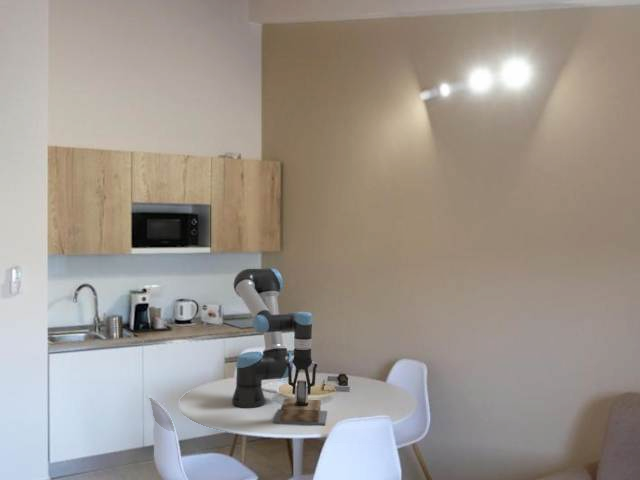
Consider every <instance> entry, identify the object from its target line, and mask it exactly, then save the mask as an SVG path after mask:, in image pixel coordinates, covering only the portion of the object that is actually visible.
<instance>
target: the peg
mask: <svg viewBox="0 0 640 480" xmlns="http://www.w3.org/2000/svg"><path fill="white" fill-rule="evenodd" d="M296 383H297V406H306V386H307V380H303V379H300V380H299V379H297V382H296Z"/></svg>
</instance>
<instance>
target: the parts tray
mask: <svg viewBox="0 0 640 480" xmlns="http://www.w3.org/2000/svg"><path fill="white" fill-rule="evenodd" d="M338 376H339V375H325V379H324V384H327V385H328V382H338V380H337V377H338ZM346 376H347V378H348V380H347V382H348V386H340V385H331V386H334V387H335V389H336V391H335V392H351V391H350V390H351V389H350V387H351V376H349V375H346ZM324 384H323V385H324Z"/></svg>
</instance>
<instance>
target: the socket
mask: <svg viewBox="0 0 640 480" xmlns="http://www.w3.org/2000/svg"><path fill="white" fill-rule="evenodd" d="M321 402H322V400H321V399H308V402H307V403H306V406H297V402H295V398H284V400H283V401H282V404H281V407H280V408H278V409H277V410H276V413H275V415H274V417H273V420H272V423H273V424H285V425H287V424H288V425H310V426H326V423H327V418H328V417H327V416H328V410H321V405H322V403H321Z"/></svg>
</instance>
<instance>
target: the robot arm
mask: <svg viewBox="0 0 640 480" xmlns="http://www.w3.org/2000/svg"><path fill="white" fill-rule="evenodd" d="M282 289H283V277H282V275H281V273H280V271H278V269H276V268H269V267H267V268H245V269H242V270H241V271H239V272H238V273H237V274H236V276H235V277H234V280H233V290H234V291H235V294H236V295H237V296H238V297H240V298H241V299H242V301H243V303H244V304H245V306H246V308H247V309H248V311H249V312H250V314H251V316H252V317H253V318H252V326H253V330H254V332H255V333H262V334H263V340H264V347H265V348H264V349H263V351H262V352H261V351H247V352H244V353H240V354H239V355H238V356H237V358H236V364H235V365H236V377H235V378H236V380H235V381H236V383H235V385H236V386H235V390H234V392H233V395H232V399H231V404H232V405H233V406H235V407H239V408H245V409H246V408H248V409H249V408H250V409H252V408H258V407H259V408H260V407H262V406H264V405H265V403H266V398H265V394H264V391H262V387H261V385H262V384H263V383H262V381H268V380H282V379H285V378H286V379H287V378H288V384H289V385H291V386H292V387H293V388H292V395H294V399H295V402H297V386H296V383H297V381H298V376H299V372H300V370H303V371H304V373H305V374H304V375H305V379H306V380H305V381H306V403H307V402H308V400H309V396H310V395H311V390H312V389H311V388H312V387H315V385H316V371H317V367H318V362H314V361H313V359H312V349H311V348H312V342H313V341H312V334H313V314H312V313H311V312H309V311H297V312H287V313H283V314H280V311H279V305H278V304H279V303H278V296H279V295H280V292H281V291H282ZM282 332H293V334H294V337H293V339H294V341H293V348H294V349H293V354H292V353H291V352H288V347H285V345H284V342H283V334H282ZM294 366H295V367H294ZM310 366H311V367H312V377H311V379H310V373H309V367H310ZM294 368H296V369H295V373H294V377H293V374H292V373H293V372H292V371H293V369H294ZM292 377H293V380H292Z"/></svg>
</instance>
